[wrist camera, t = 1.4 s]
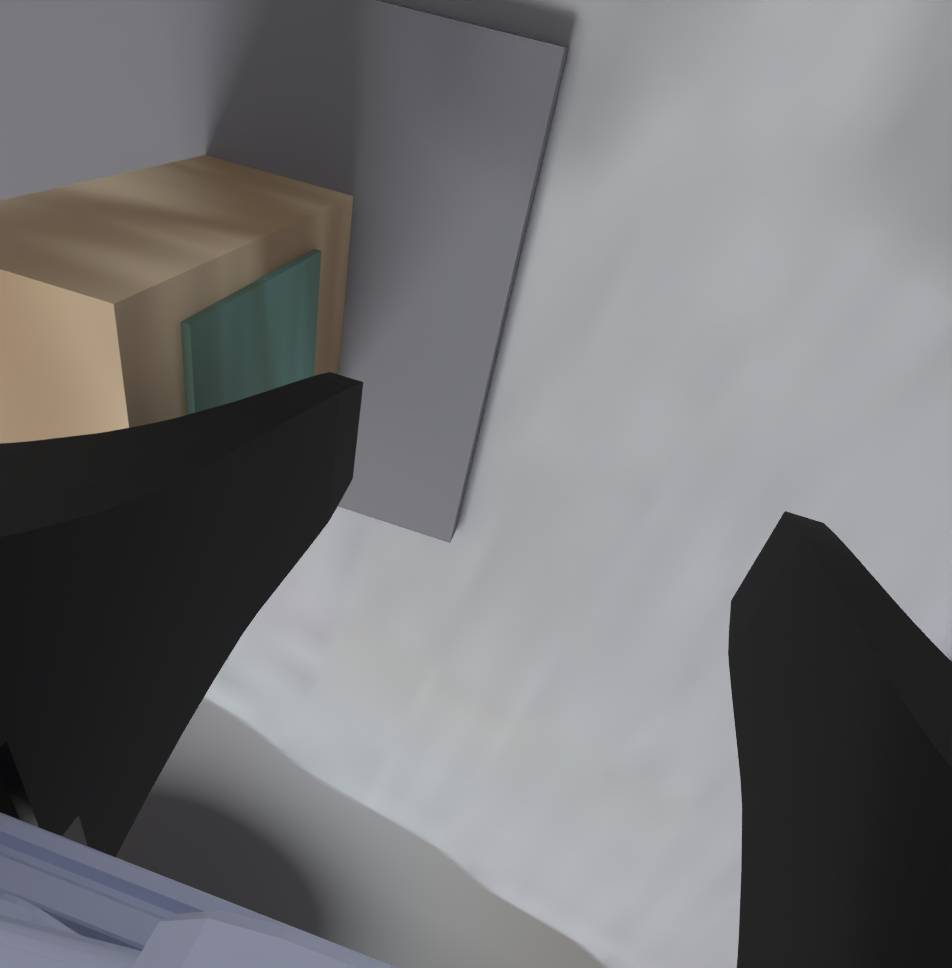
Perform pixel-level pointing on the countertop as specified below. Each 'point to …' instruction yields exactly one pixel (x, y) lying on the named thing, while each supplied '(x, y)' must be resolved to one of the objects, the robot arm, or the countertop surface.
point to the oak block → (165, 295)
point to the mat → (323, 177)
